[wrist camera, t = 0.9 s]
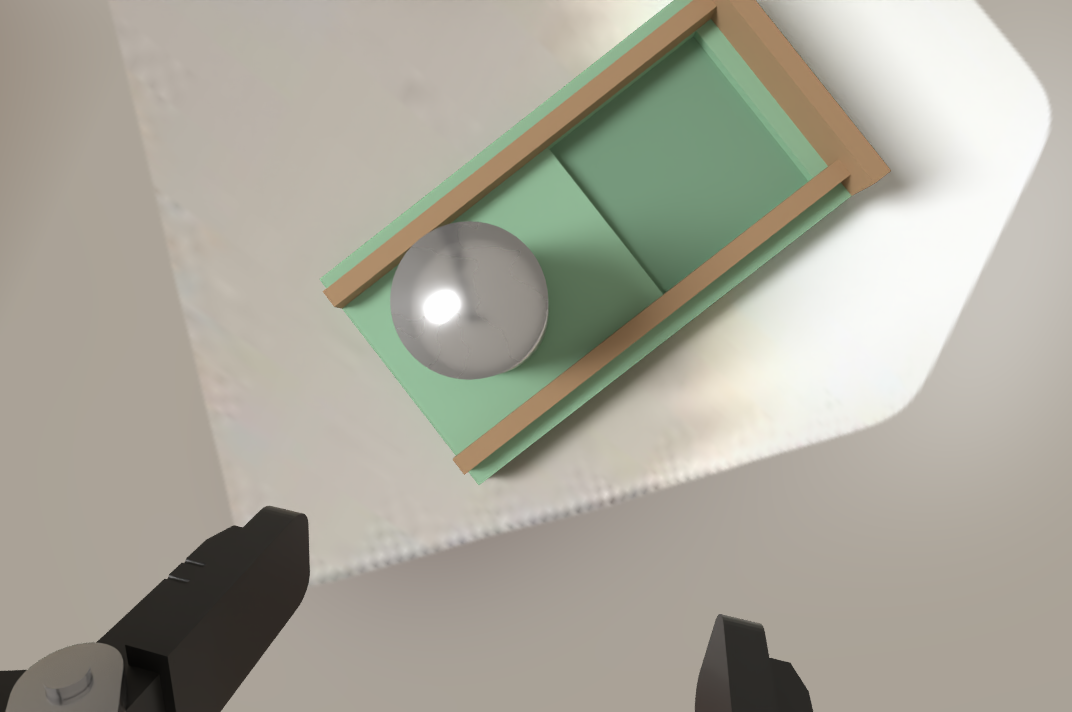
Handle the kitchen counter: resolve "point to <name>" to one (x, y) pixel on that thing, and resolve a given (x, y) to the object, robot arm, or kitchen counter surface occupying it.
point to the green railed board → (624, 212)
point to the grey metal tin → (470, 301)
